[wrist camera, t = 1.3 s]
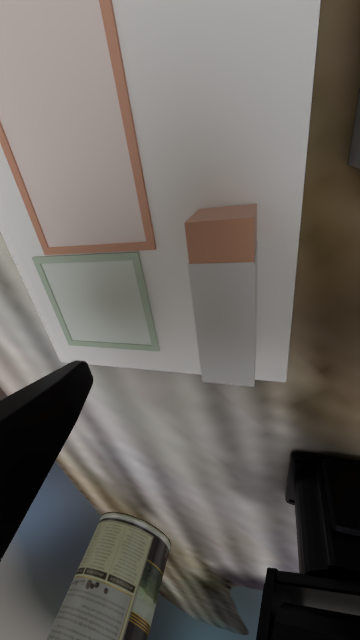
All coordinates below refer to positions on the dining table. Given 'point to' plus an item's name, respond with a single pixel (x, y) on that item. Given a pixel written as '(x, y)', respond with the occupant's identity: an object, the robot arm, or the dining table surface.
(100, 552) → the coffee can
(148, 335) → the sheet
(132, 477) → the dining table surface
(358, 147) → the grey open box
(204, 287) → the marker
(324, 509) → the robot arm
